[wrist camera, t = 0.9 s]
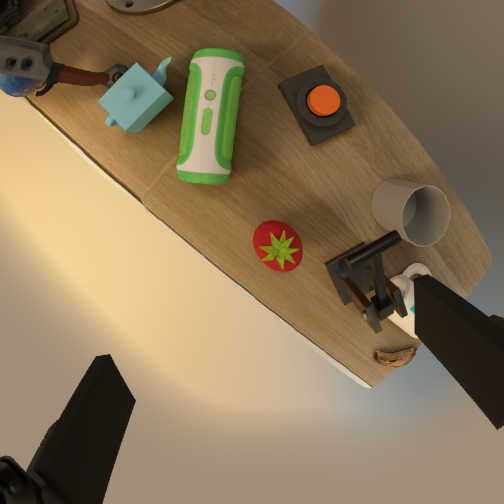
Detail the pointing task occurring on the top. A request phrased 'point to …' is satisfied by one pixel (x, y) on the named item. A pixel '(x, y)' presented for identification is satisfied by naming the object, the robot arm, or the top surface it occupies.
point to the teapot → (136, 98)
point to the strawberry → (278, 245)
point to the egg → (19, 83)
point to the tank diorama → (36, 18)
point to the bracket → (362, 287)
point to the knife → (48, 65)
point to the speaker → (210, 116)
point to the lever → (377, 270)
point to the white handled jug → (408, 296)
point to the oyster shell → (395, 357)
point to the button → (323, 100)
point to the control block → (309, 122)
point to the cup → (411, 210)
